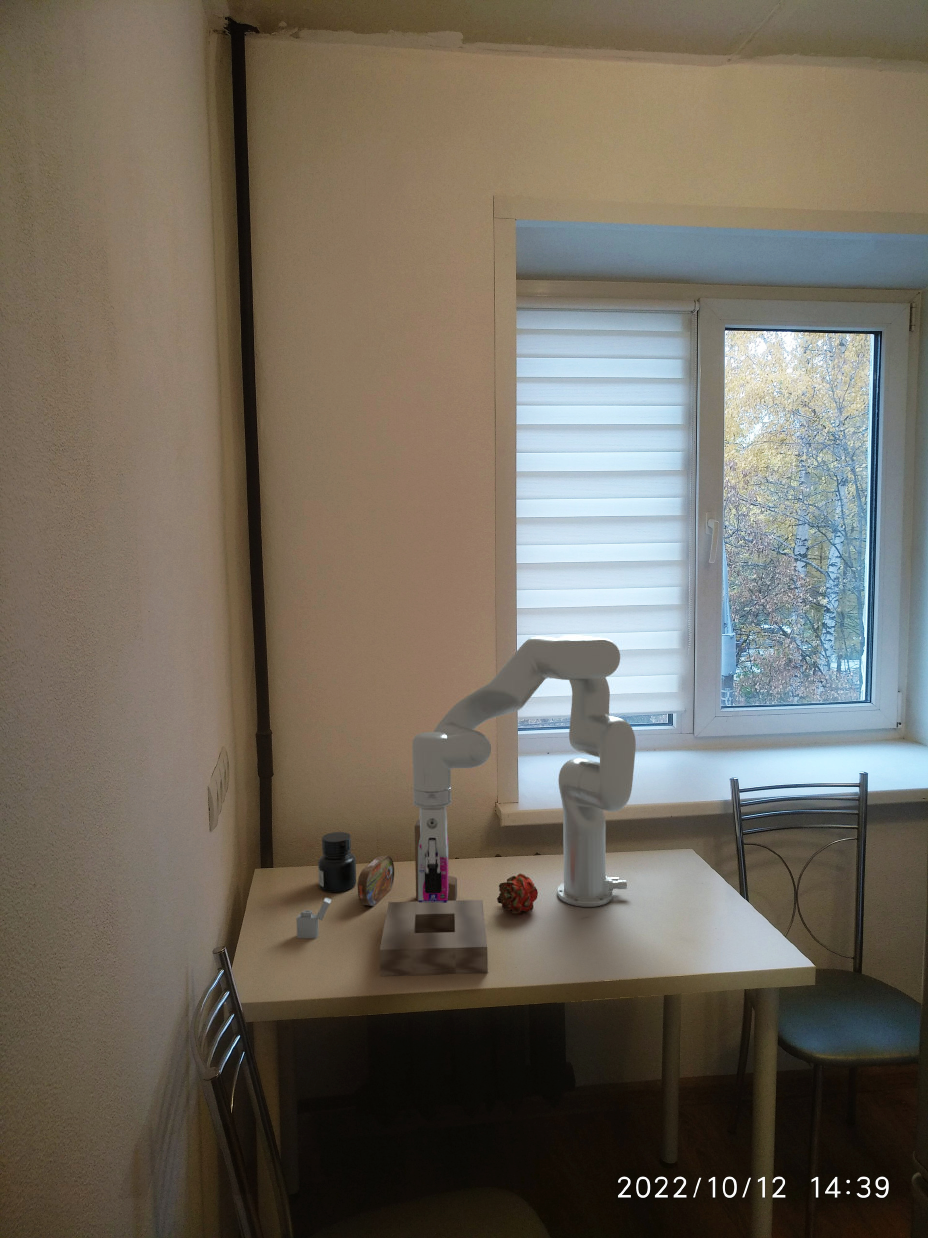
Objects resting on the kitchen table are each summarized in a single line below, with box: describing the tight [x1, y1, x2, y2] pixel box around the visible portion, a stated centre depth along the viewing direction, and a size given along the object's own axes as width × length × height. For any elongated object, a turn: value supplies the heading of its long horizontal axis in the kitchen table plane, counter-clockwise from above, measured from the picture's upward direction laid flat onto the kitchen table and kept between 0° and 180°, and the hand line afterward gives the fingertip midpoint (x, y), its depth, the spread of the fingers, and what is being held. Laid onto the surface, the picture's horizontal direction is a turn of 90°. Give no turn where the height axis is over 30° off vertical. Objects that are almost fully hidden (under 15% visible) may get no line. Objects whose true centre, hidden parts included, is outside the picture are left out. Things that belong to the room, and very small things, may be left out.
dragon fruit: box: [496, 873, 539, 916], centre depth 164 cm, size 8×8×12 cm
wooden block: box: [414, 818, 458, 902], centre depth 170 cm, size 9×4×18 cm, turn 85°
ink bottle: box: [317, 831, 357, 893], centre depth 178 cm, size 10×9×12 cm
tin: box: [356, 855, 395, 907], centre depth 172 cm, size 15×3×8 cm, turn 161°
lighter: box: [295, 897, 332, 939], centre depth 154 cm, size 7×2×8 cm, turn 86°
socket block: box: [379, 899, 489, 977], centre depth 148 cm, size 20×20×5 cm
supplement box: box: [418, 836, 449, 903], centre depth 147 cm, size 6×6×12 cm
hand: (433, 884), depth 148 cm, fingers closed on supplement box, 5 cm apart
